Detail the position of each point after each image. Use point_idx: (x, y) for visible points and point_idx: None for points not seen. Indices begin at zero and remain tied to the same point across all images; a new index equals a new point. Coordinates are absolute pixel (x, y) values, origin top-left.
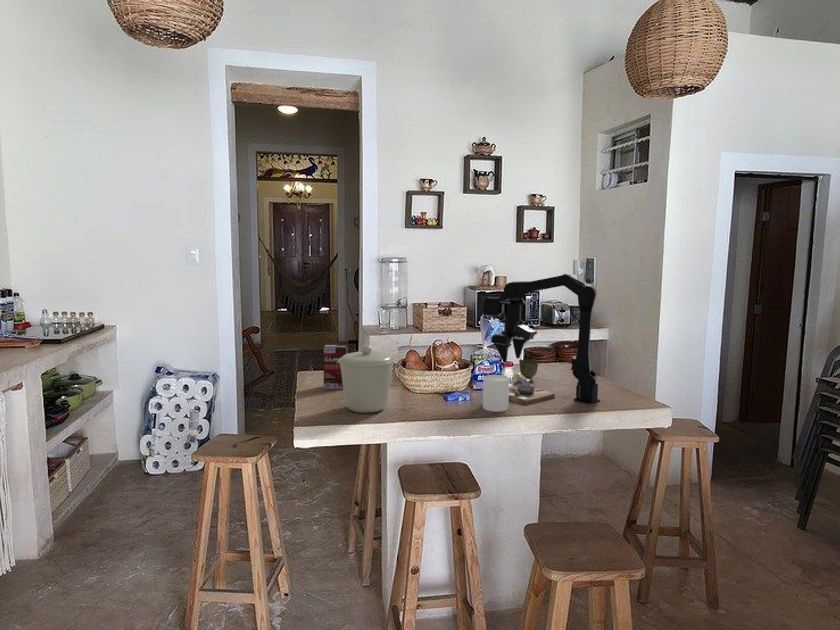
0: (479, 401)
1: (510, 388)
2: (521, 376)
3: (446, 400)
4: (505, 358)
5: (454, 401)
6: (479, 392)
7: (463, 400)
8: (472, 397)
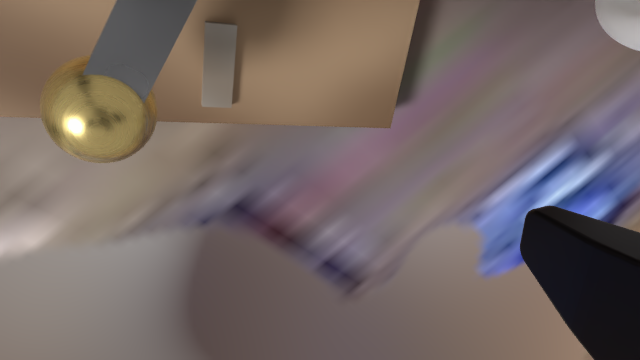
0: (567, 69)
1: (228, 81)
2: (144, 14)
3: (625, 204)
4: (635, 241)
5: (627, 165)
6: (376, 228)
7: (589, 150)
8: (506, 166)
